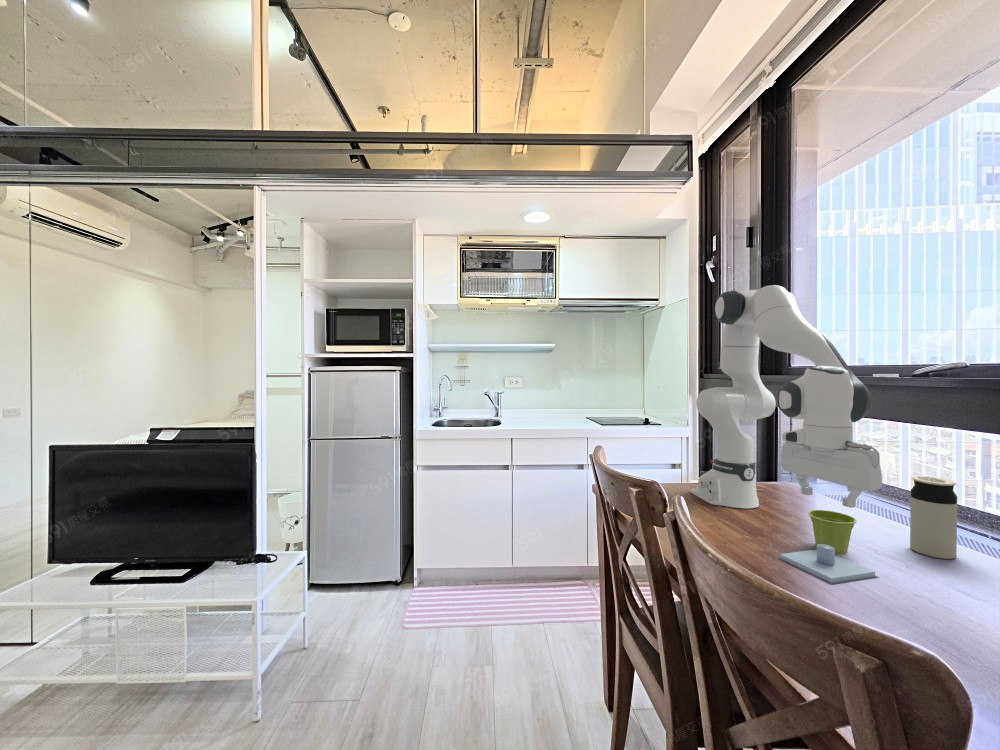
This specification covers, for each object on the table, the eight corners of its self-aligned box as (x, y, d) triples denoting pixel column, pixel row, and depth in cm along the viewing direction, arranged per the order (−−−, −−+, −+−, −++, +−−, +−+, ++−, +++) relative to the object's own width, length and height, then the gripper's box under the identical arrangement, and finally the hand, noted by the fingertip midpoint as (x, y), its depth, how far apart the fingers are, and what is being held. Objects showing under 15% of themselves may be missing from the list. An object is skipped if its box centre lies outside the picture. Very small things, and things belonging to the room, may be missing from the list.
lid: (780, 558, 99) (780, 539, 99) (820, 553, 102) (820, 534, 102) (831, 583, 88) (831, 561, 88) (875, 576, 91) (875, 555, 91)
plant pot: (865, 560, 100) (865, 524, 100) (820, 557, 102) (820, 521, 101) (842, 544, 109) (842, 511, 109) (800, 541, 111) (801, 508, 111)
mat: (776, 560, 100) (776, 557, 100) (819, 554, 103) (819, 551, 103) (832, 587, 87) (832, 584, 87) (879, 580, 90) (879, 577, 90)
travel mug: (920, 556, 102) (921, 482, 102) (903, 544, 109) (904, 474, 109) (964, 562, 99) (965, 485, 99) (943, 549, 106) (944, 477, 106)
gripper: (890, 445, 85) (890, 513, 85) (796, 431, 105) (796, 487, 105) (867, 446, 84) (866, 516, 84) (776, 432, 104) (775, 489, 104)
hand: (826, 500), depth 95 cm, fingers open, 8 cm apart
